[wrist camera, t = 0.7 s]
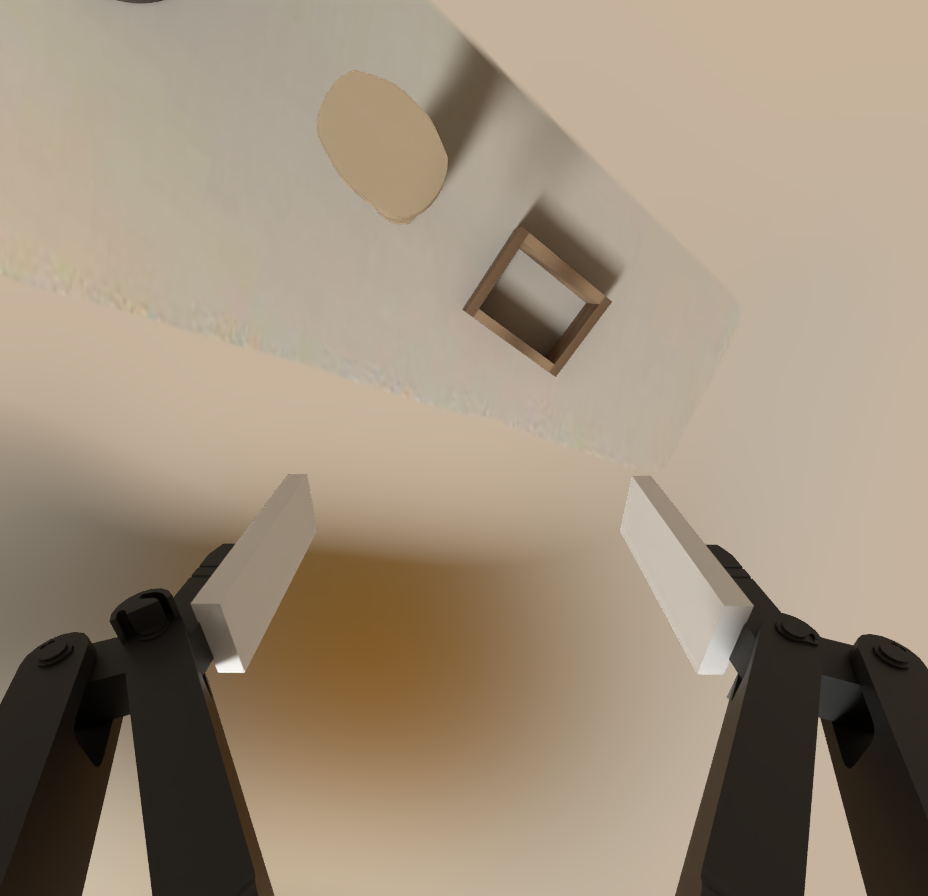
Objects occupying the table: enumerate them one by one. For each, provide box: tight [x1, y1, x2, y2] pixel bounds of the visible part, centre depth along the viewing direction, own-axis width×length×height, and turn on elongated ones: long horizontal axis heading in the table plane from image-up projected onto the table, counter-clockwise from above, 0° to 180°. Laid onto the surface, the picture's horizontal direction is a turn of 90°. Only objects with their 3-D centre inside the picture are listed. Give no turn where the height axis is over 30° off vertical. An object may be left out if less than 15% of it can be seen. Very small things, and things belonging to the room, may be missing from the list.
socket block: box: [463, 226, 612, 377], centre depth 37 cm, size 10×8×3 cm
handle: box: [317, 70, 448, 224], centre depth 27 cm, size 5×6×15 cm
